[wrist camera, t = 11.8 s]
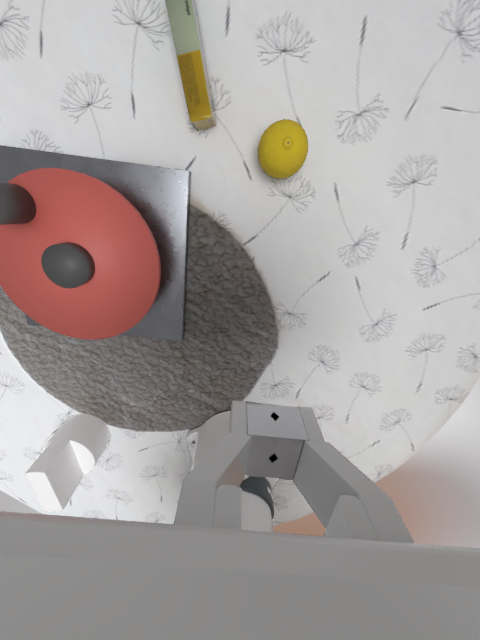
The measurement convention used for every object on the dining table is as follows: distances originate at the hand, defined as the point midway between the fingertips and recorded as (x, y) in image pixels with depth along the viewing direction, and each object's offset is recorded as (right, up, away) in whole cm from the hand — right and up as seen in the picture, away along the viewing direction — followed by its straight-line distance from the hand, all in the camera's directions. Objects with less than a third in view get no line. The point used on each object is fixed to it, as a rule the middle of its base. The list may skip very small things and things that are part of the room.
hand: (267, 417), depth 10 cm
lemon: (+4, +25, +24) cm, 34 cm away
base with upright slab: (-31, -18, +41) cm, 55 cm away
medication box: (-6, +33, +21) cm, 39 cm away
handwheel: (-21, +11, +22) cm, 32 cm away
